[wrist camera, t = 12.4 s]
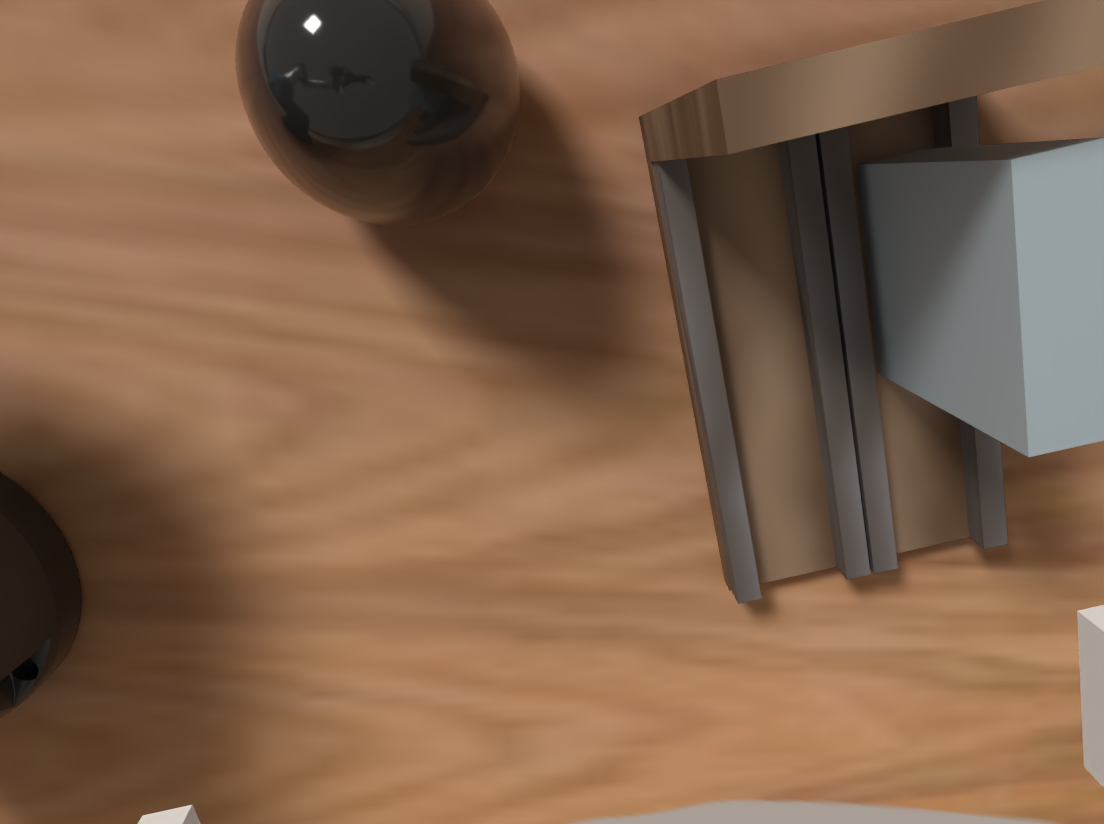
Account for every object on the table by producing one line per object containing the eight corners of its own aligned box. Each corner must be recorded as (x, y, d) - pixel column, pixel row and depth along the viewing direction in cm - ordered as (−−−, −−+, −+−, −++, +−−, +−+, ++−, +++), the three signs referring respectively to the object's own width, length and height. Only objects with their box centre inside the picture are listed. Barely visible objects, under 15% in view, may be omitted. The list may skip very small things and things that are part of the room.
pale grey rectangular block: (879, 374, 39) (1028, 457, 28) (855, 164, 36) (1010, 160, 25) (940, 360, 39) (1115, 438, 28) (921, 149, 36) (1107, 137, 25)
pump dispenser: (539, -5, 35) (552, -134, 20) (501, 237, 38) (489, 277, 23) (300, -53, 34) (135, -224, 19) (280, 198, 37) (122, 213, 22)
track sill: (724, 581, 43) (827, 784, 29) (638, 116, 36) (716, 79, 22) (983, 523, 43) (1217, 700, 28) (945, 43, 36) (1228, -44, 22)
